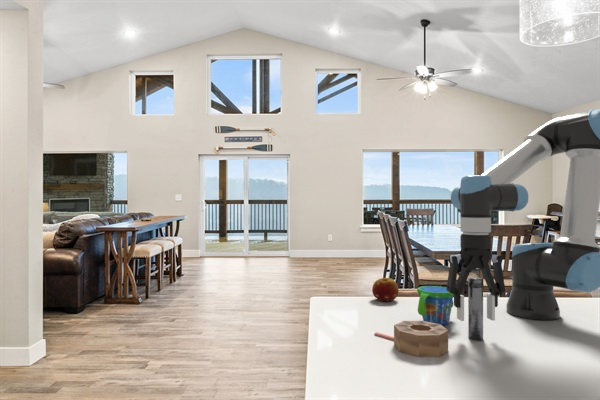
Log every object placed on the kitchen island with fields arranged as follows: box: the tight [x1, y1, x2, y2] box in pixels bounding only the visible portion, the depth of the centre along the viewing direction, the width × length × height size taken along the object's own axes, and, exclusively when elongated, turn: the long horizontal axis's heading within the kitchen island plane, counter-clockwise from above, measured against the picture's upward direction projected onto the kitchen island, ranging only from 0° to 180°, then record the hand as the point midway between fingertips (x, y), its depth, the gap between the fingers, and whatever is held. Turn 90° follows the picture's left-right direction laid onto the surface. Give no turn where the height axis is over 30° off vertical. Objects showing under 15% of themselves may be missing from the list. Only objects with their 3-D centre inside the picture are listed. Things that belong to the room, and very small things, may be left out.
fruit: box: [371, 277, 400, 302], centre depth 153 cm, size 10×9×8 cm
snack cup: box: [416, 285, 454, 326], centre depth 125 cm, size 16×10×10 cm
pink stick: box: [374, 332, 394, 342], centre depth 109 cm, size 12×1×1 cm, turn 43°
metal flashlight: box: [467, 276, 484, 342], centre depth 110 cm, size 4×4×16 cm
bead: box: [393, 320, 449, 358], centre depth 103 cm, size 12×12×5 cm
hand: (475, 319), depth 110 cm, fingers open, 8 cm apart
